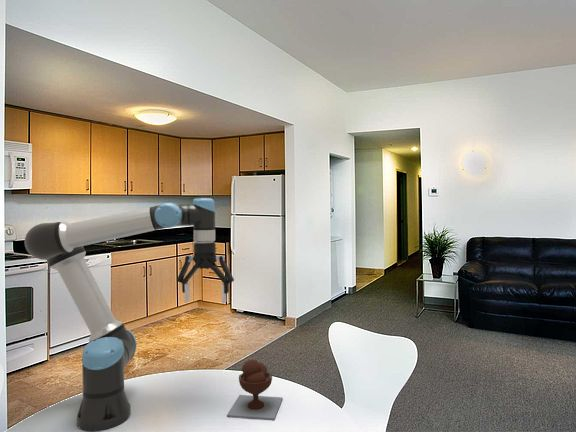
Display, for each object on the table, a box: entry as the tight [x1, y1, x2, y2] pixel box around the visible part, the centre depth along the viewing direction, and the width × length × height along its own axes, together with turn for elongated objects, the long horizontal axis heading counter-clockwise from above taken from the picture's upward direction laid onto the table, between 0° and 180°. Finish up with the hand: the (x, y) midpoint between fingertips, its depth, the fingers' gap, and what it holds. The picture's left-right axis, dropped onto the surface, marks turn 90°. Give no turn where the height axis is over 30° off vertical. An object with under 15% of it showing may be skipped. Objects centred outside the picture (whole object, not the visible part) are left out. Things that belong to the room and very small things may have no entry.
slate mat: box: [226, 394, 284, 421], centre depth 130 cm, size 15×14×1 cm
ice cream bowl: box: [238, 359, 273, 410], centre depth 130 cm, size 11×11×15 cm
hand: (205, 302), depth 142 cm, fingers open, 13 cm apart
